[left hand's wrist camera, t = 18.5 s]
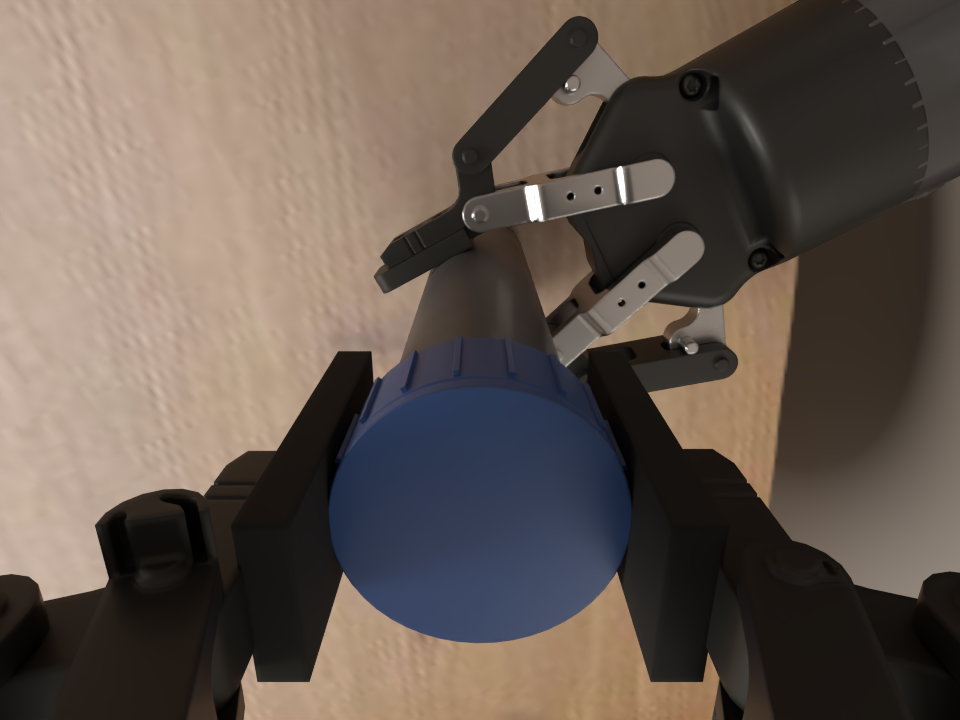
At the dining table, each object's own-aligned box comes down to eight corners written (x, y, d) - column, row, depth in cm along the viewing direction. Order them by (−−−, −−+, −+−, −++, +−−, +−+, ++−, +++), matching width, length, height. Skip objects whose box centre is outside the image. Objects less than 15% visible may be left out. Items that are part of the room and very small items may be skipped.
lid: (597, 562, 13) (620, 649, 11) (356, 557, 13) (331, 643, 11) (623, 336, 11) (657, 387, 9) (343, 330, 11) (310, 379, 9)
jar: (418, 267, 30) (313, 513, 11) (474, 198, 28) (464, 342, 10) (485, 321, 30) (493, 631, 12) (542, 256, 29) (649, 488, 11)
